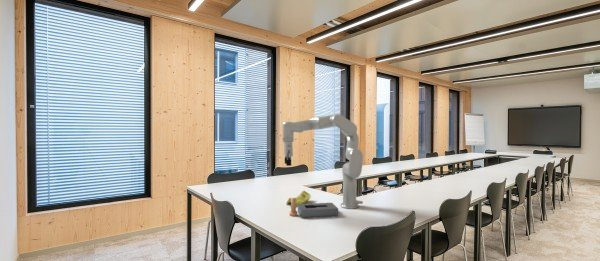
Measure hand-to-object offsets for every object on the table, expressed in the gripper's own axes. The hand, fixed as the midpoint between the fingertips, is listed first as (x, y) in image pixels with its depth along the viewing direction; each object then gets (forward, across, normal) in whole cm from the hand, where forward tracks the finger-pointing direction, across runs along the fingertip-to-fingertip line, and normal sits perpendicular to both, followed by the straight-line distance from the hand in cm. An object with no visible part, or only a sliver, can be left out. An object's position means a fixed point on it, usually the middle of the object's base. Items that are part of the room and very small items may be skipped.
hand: (287, 164), depth 195 cm
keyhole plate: (+31, -13, -18) cm, 38 cm away
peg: (+31, -13, -2) cm, 34 cm away
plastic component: (+32, +14, -11) cm, 36 cm away
